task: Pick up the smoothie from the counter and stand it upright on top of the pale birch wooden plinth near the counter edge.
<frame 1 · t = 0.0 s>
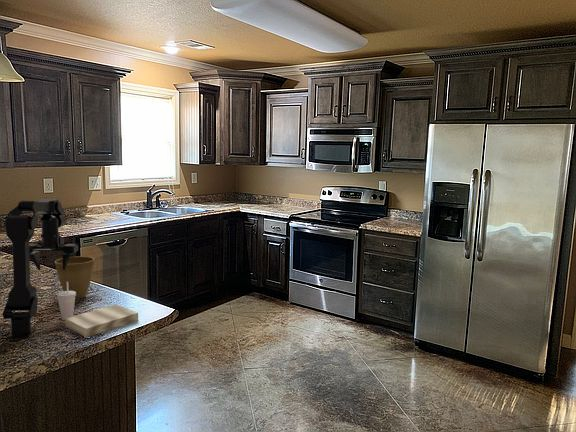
hand: (51, 270, 174), 15 cm above the countertop, tool pointing down, fingers open, 9 cm apart
plant pot: (76, 296, 189), on the countertop
plinth: (102, 323, 160), on the countertop
smoothie: (67, 318, 164), on the countertop
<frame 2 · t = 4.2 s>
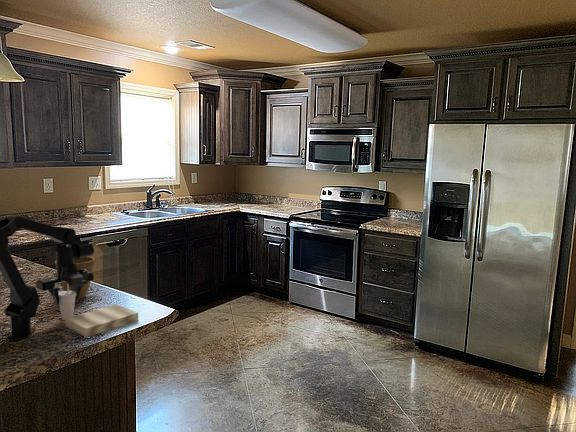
hand: (66, 302, 163), 6 cm above the countertop, tool pointing down, fingers closed on smoothie, 6 cm apart
smoothie: (67, 318, 164), on the countertop, touching gripper
everything else where it was.
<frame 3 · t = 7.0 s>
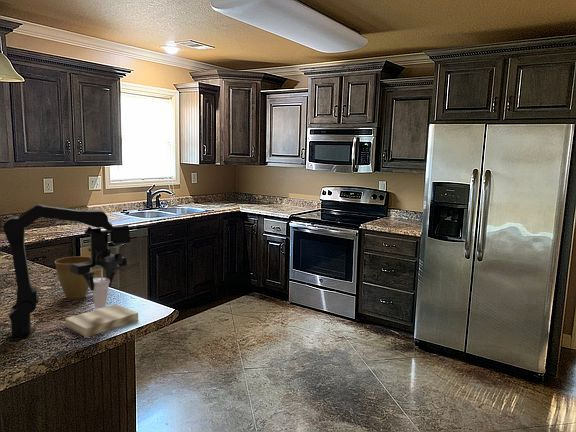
hand: (100, 288, 159), 13 cm above the countertop, tool pointing down, fingers closed on smoothie, 6 cm apart
smoothie: (100, 306, 159), point 6 cm above the countertop, touching gripper
everything else where it was.
when the fingers open (10 cm above the countertop, at t = 8.5 s): smoothie stays where it is, resting on plinth.
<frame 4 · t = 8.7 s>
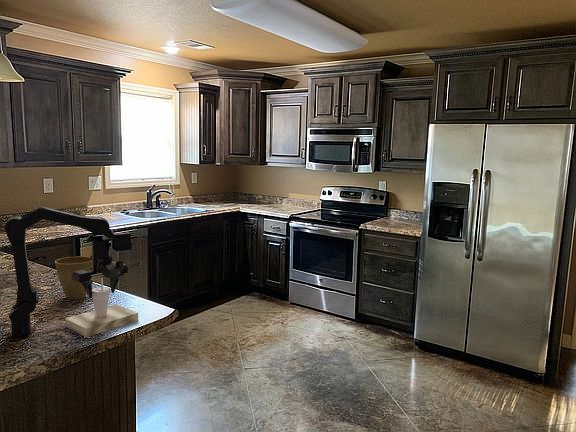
hand: (101, 295, 159), 10 cm above the countertop, tool pointing down, fingers open, 8 cm apart
smoothie: (101, 316, 160), point 3 cm above the countertop, touching plinth
everything else where it was.
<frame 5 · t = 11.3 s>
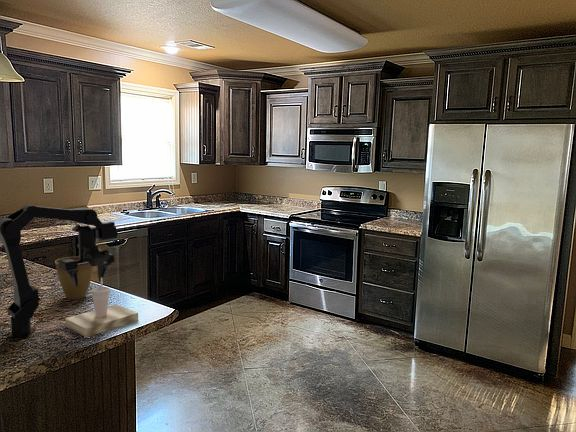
hand: (88, 283, 164), 13 cm above the countertop, tool pointing down, fingers open, 9 cm apart
nothing on the countertop moved.
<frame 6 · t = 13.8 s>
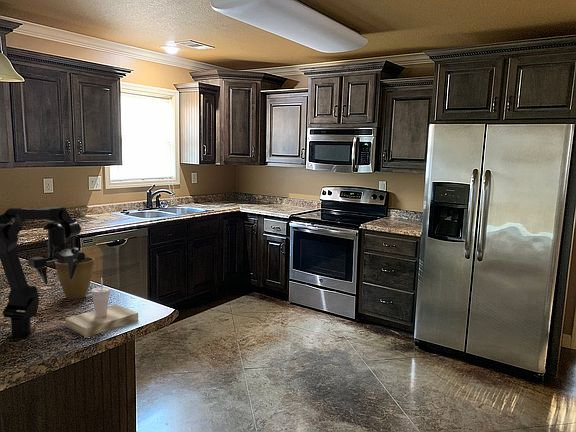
hand: (58, 281, 165), 13 cm above the countertop, tool pointing down, fingers open, 9 cm apart
nothing on the countertop moved.
at the end: smoothie inside the target area on the plinth (0.5 cm from its centre), point 2.8 cm above the plinth's base; smoothie tilted 0°; the gripper is holding nothing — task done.
